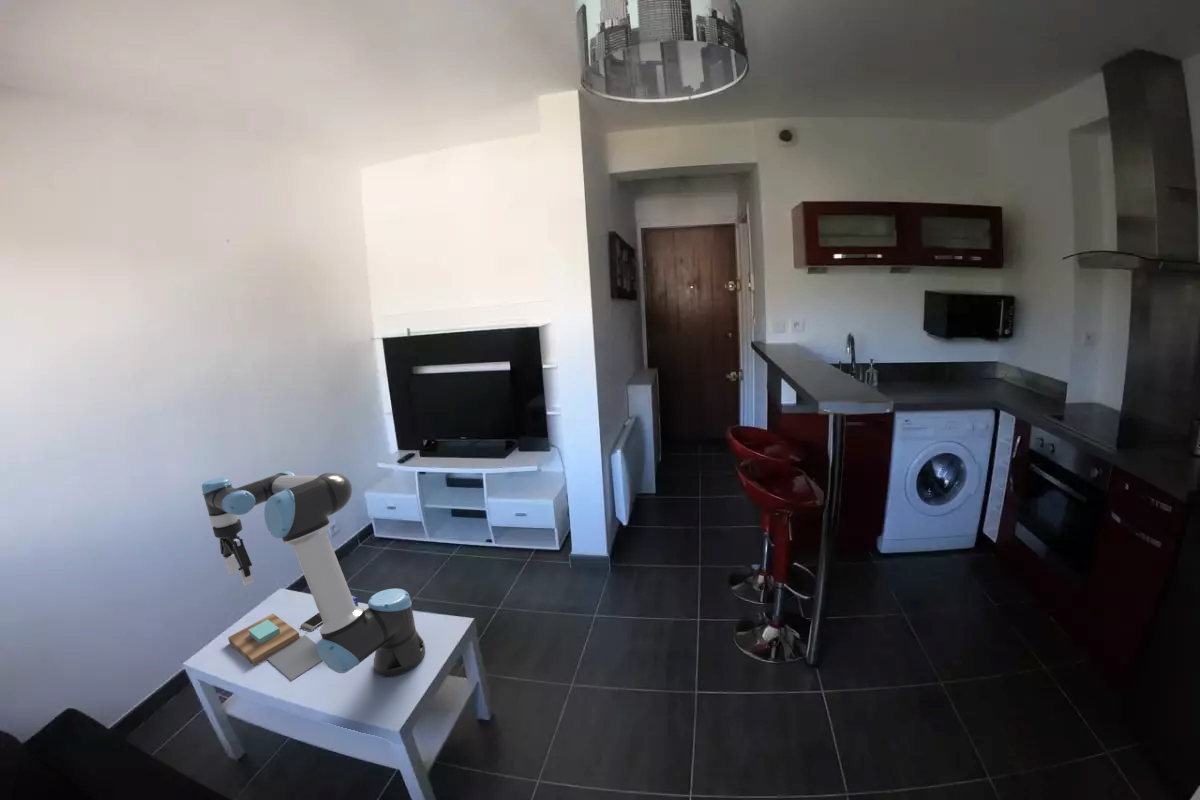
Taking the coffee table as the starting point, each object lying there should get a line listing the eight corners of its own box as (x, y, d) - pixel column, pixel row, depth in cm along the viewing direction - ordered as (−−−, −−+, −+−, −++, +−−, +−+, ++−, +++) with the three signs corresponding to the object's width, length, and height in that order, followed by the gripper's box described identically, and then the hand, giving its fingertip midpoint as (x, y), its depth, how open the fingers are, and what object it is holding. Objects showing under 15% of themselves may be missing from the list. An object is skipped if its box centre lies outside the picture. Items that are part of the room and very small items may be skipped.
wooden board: (300, 638, 162) (298, 632, 161) (253, 666, 151) (252, 659, 150) (274, 619, 173) (273, 613, 172) (229, 643, 162) (227, 637, 161)
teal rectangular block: (280, 633, 162) (279, 628, 161) (260, 644, 157) (259, 639, 156) (268, 624, 167) (267, 619, 166) (249, 634, 162) (248, 629, 161)
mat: (331, 655, 153) (330, 654, 153) (291, 681, 144) (291, 680, 144) (304, 635, 163) (304, 635, 163) (266, 658, 154) (265, 657, 154)
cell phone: (339, 613, 175) (338, 610, 174) (310, 633, 165) (310, 629, 165) (328, 609, 177) (327, 606, 177) (299, 629, 168) (298, 625, 167)
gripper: (254, 526, 154) (268, 582, 159) (225, 510, 168) (239, 563, 173) (227, 536, 148) (242, 595, 153) (199, 519, 162) (215, 573, 167)
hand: (241, 578), depth 163 cm, fingers open, 12 cm apart
